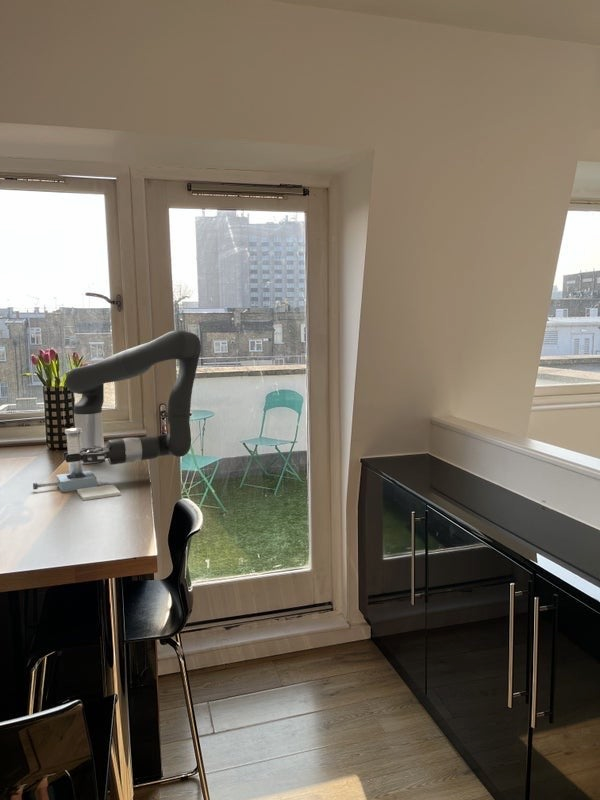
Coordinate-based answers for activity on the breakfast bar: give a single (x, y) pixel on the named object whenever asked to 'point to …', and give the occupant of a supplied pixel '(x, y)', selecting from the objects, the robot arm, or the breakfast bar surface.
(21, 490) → the breakfast bar surface
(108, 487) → the felt pad
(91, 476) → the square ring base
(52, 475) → the breakfast bar surface
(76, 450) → the steel pin
